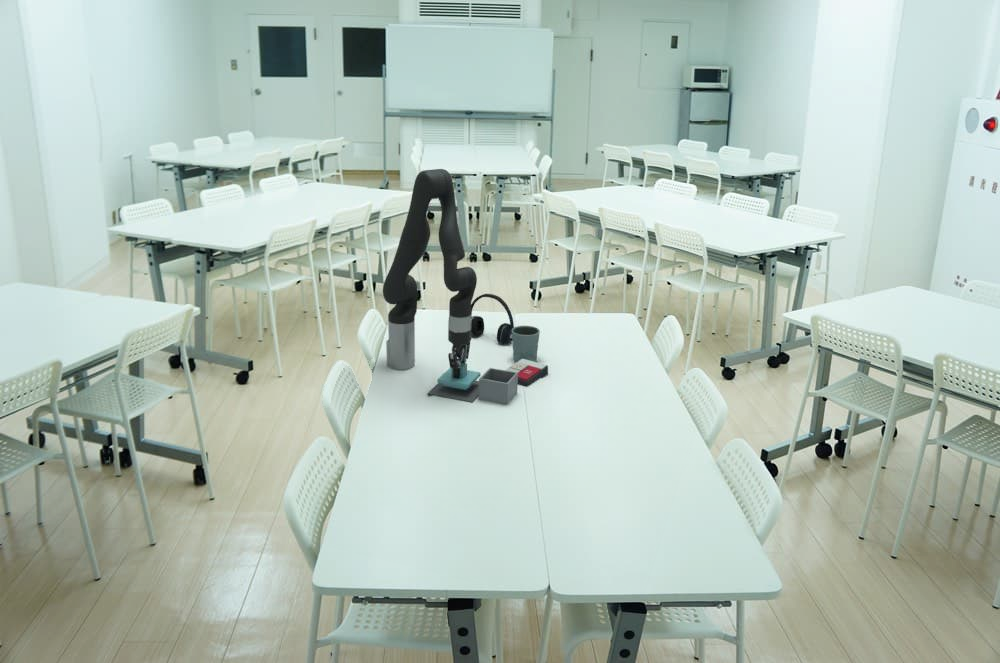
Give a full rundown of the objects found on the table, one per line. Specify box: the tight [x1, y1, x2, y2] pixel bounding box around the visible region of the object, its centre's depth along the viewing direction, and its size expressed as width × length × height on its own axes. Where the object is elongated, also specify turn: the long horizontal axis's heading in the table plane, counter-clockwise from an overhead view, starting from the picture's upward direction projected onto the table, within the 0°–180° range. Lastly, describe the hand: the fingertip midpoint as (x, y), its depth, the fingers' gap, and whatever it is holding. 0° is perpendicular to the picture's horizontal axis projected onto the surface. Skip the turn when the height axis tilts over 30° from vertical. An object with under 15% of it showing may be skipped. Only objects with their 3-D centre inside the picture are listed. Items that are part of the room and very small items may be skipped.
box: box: [478, 367, 519, 406], centre depth 279 cm, size 10×10×8 cm
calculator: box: [505, 359, 549, 387], centre depth 296 cm, size 11×4×15 cm
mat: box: [426, 380, 479, 404], centre depth 285 cm, size 16×16×1 cm
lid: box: [437, 362, 481, 390], centre depth 283 cm, size 11×11×7 cm
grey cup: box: [512, 325, 541, 364], centre depth 309 cm, size 10×10×12 cm
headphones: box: [471, 293, 515, 345], centre depth 327 cm, size 20×7×18 cm, turn 57°
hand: (459, 375), depth 283 cm, fingers closed on lid, 4 cm apart
